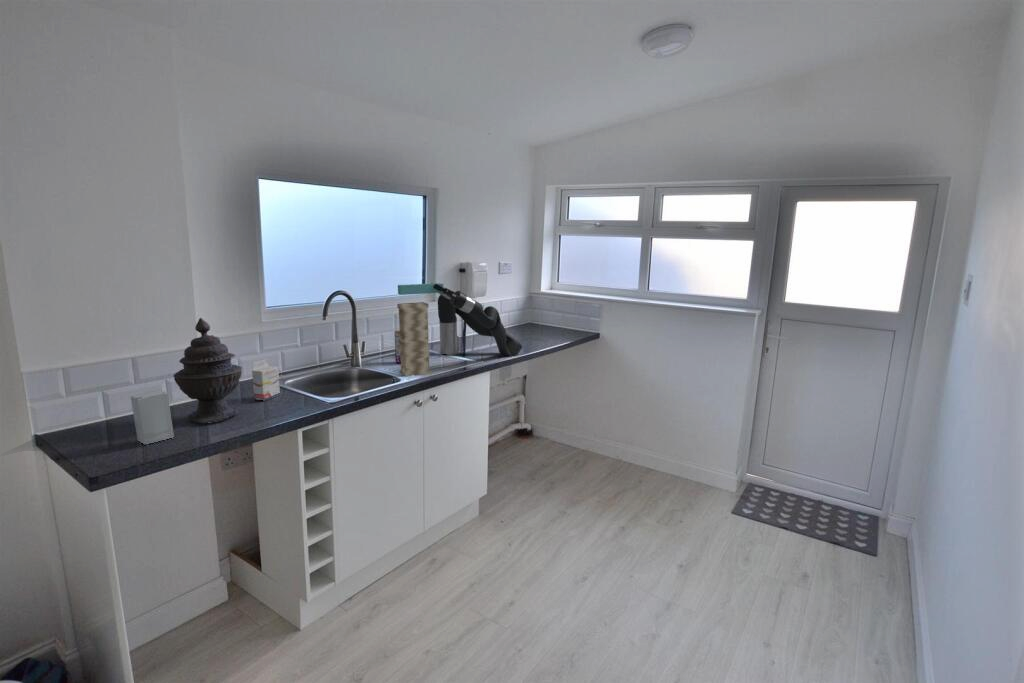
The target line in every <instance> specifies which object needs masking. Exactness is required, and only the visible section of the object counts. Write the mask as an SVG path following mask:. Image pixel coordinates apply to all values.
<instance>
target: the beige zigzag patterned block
mask: <svg viewBox="0 0 1024 683" xmlns="http://www.w3.org/2000/svg"><path fill="white" fill-rule="evenodd" d="M396 304H397V305H396V306H397V309H398V323H399V324H398V325H399V326H398V327H399V328H398V329H399V330H400V354H401V363H400V369H399V371H400V372H399V374H400V373H401V375H402V374H403V375H402V376H403V377H405V376H406V377H413V376H412V375H414V376H420V375H419V374H421V375H427V374H428V373H429V374H431V373H432V372H431V369H430V349H429V348H430V347H429V345H430V344H429V320H428V319H429V314H428V309H429V303H427V302H424V301H422V302H421V301H419V302H405V303H404V302H403V303H402V302H401V303H396Z"/></svg>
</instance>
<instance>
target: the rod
mask: <svg viewBox="0 0 1024 683" xmlns="http://www.w3.org/2000/svg"><path fill="white" fill-rule="evenodd" d="M432 283H433V282H432ZM435 284H438V285H440V286H441V287H442V288H443V287H444V283H440V282H437V283H433V284H431V283H414V284H411V283H410V284H397V294H398V295H400V296H401V295H402V296H403V295H405V296H406V295H421V294H422V295H423V294H439V293H441V291H438V290H436V289H435V288H433V287H434V285H435Z"/></svg>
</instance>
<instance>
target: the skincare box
mask: <svg viewBox="0 0 1024 683" xmlns="http://www.w3.org/2000/svg"><path fill="white" fill-rule="evenodd" d="M130 400H131V407H132V413H133V420H134V425H135V426H134V427H135V431H136V439H137V441H140V442H141V443H143V444H149V443H154V442H158V441H161V440H165V441H167V440H166V439H169V438H172V439H174V438H175V435H174V427H173V421H172V414H171V413H172V412H171V408H170V400H169V393H168V392H166V391H164V390H162V389H156V390H152V391H148V392H143V393H137V394H133V395H130ZM173 437H174V438H173ZM169 440H170V439H169ZM161 442H162V441H161ZM141 443H140V444H141ZM158 443H159V442H158ZM154 444H155V443H154Z"/></svg>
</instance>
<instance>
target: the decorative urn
mask: <svg viewBox="0 0 1024 683" xmlns="http://www.w3.org/2000/svg"><path fill="white" fill-rule="evenodd" d="M194 330H195V331H196V332H198V333H200V335H201V336H198V337H195V338H192V339H191V341H190V345H189V346H188V347H186V348H185V349H184V351H183V355H184V357H182V358H181V359H179V361H178V362H179V364H182V365H183V368H182V369H180V370H178V371H177V372H175V373H174V374H173V377H174V378H173V379H174V382H175V384H176V385H177V386H178V387H179V390H180V391H181V392H182V393H184V395H186V396H187V397H188V398H189V399H191V400H197V408H196V411H195V410H194V411H192V412H191V413H189V414H187V415H186V420H188V421H190V422H192V423H194V422H196V423H195V424H206V423H208V422H215V421H219V422H221V421H220V420H223V421H225V420H224V419H227V418H229V417H232V416H233V417H235V416H236V415H238V414H239V409H238V408H237V407H233V406H229V404H228V402H227V400H226V398H225V397H227V396H229V395H230V394H232V393H233V392H234V390H235V389H236V387H237V386H238V385H239V383H240V379H241V377H242V371H243V367H242V366H240V365H237V364H232V358H234V357H235V356H236V355H235V354H234V353H231V352H229V349H228V345H226V344H225V343H221V342H222V341H221V339H220V337H218V336H215V335H212V334H211V335H208V332H209V331H210V330H211V326H210V324H209V322H207V321H206V320H205V319H203V318H202V317H199V319H198V321H197V322H196V325H195V327H194ZM234 415H235V416H234ZM233 417H232V418H233ZM227 420H228V419H227ZM208 424H209V423H208Z"/></svg>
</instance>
